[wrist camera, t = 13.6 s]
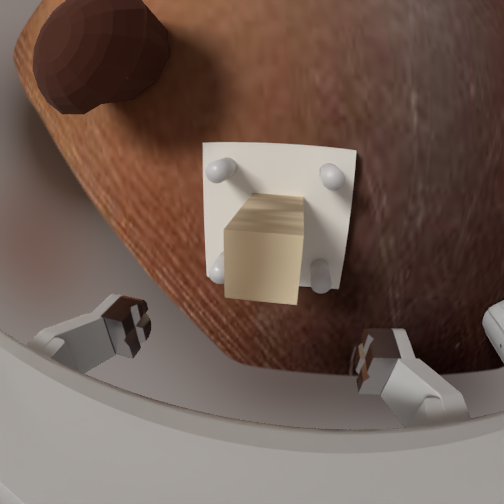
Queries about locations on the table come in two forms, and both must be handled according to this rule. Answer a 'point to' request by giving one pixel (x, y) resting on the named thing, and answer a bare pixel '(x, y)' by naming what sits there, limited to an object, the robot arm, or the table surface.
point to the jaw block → (265, 249)
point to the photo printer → (495, 327)
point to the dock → (282, 183)
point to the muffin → (98, 53)
